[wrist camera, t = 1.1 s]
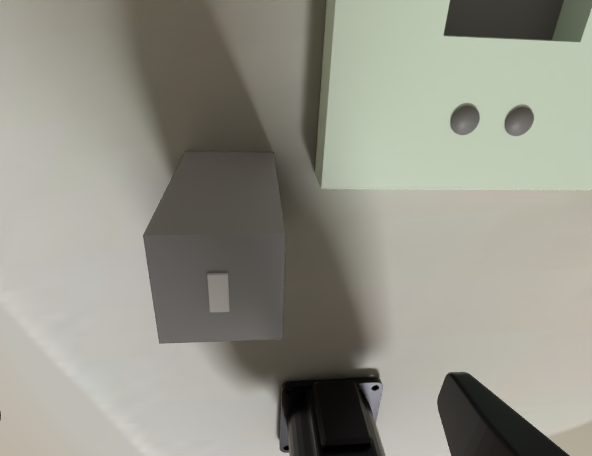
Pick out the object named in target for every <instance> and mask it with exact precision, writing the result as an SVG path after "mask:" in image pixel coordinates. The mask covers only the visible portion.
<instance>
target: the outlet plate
mask: <svg viewBox="0 0 592 456" xmlns="http://www.w3.org/2000/svg"><path fill="white" fill-rule="evenodd" d="M315 175H316V177H317V180H318V182H319V185H320V187H321V189H416V190H592V0H327V3H326V18H325V33H324V47H323V62H322V77H321V92H320V107H319V121H318V136H317V151H316V166H315Z"/></svg>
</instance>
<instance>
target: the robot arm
mask: <svg viewBox="0 0 592 456" xmlns="http://www.w3.org/2000/svg"><path fill="white" fill-rule="evenodd" d="M374 385H375V386H374ZM289 389H291V390H289ZM382 389H383V385H382V382H381V380H380V379H379V378H354V379H332V380H310V381H289V382H286V383H284V384H283V385H282V388H281V415H280V442H279V444H280V450H281V451H282V452H286V453H288V452H289V453H290V456H385V453H384V449H383V446H382V443H381V440H380V436H379V433H378V430H377V426H376V419H377V414H378V409H379V404H380V399H381V394H382ZM437 405H438V410H439V414H440V418H441V421H442V425H443V428H444V432H445V435H446V439H447V442H448V446H449V449H450V453H451V456H570V455H568V454H567V453H566V452H565V451H563V450H562V449H561V448H560V447H558V446H557V445H556V444H555V443H553V442H552V441H551V440H550V439H549V438H547V437H546V436H545V435H544V434H543V433H541V432H540V431H539V430H538V429H536V428H535V427H534V426H533V425H532V424H530V423H529V422H528V421H527V420H525V419H524V418H523V417H522V416H521V415H519V414H518V413H517V412H516V411H514V410H513V409H512V408H511V407H509V406H508V405H507V404H506V403H505V402H503V401H502V400H501V399H500V398H498V397H497V396H496V395H495V394H494V393H492V392H491V391H490V390H489V389H487V388H486V387H485V386H484V385H483V384H481V383H480V382H479V381H478V380H476V379H475V378H474V377H473V376H471V375H470V374H468V373H466V372H451V373H448V374H447V375H446V377H445V380H444V382H443V385H442V388H441V390H440V393H439V396H438V401H437ZM0 419H1V414H0Z"/></svg>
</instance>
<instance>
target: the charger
mask: <svg viewBox="0 0 592 456" xmlns="http://www.w3.org/2000/svg"><path fill="white" fill-rule="evenodd" d="M143 238H144V245H145V251H146V258H147V265H148V271H149V278H150V285H151V291H152V298H153V305H154V311H155V318H156V325H157V331H158V338H159V343H189V342H218V341H248V340H277V339H282V331H283V302H284V274H285V246H286V232H285V225H284V218H283V212H282V205H281V198H280V192H279V185H278V178H277V172H276V165H275V158H274V152H214V151H185V153H184V155H183V157H182V159H181V161H180V163H179V165H178V167H177V169H176V171H175V173H174V175H173V177H172V179H171V181H170V183H169V185H168V187H167V189H166V191H165V193H164V195H163V197H162V199H161V201H160V203H159V205H158V207H157V209H156V211H155V213H154V215H153V217H152V219H151V221H150V223H149V225H148V227H147V229H146V231H145V233H144V235H143Z"/></svg>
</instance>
